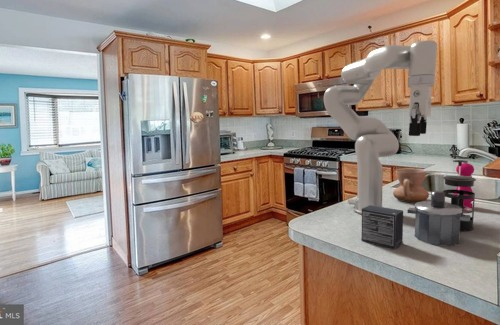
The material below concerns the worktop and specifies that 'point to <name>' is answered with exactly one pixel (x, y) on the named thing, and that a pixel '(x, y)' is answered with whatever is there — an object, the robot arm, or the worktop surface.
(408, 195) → the ceramic jug
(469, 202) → the pepper mill
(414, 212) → the pot
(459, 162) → the french press
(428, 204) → the lid
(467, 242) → the worktop surface
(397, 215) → the small box
